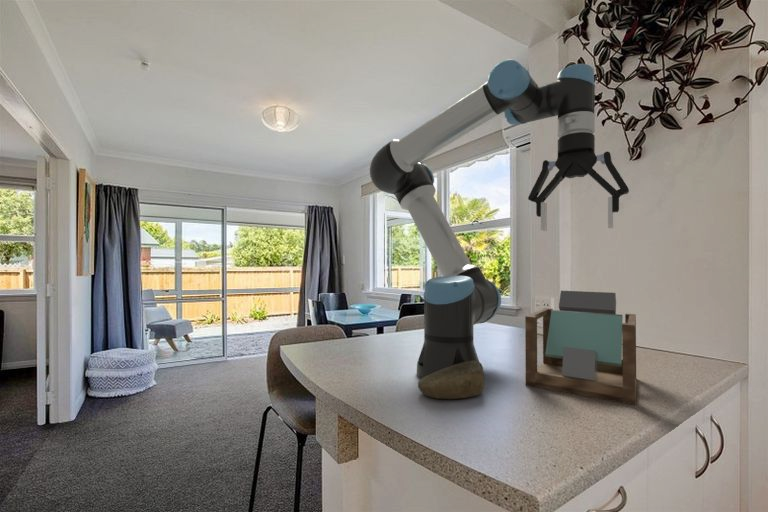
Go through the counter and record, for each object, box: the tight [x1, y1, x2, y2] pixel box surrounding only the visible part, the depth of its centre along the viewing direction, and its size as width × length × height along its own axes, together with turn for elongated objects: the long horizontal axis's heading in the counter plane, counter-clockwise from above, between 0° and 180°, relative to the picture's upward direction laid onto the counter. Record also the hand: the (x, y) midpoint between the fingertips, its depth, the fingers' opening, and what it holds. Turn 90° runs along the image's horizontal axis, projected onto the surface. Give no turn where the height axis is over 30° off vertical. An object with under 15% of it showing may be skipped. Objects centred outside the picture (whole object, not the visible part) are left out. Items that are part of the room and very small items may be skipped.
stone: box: [417, 360, 486, 400], centre depth 76 cm, size 9×14×10 cm, turn 111°
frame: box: [524, 307, 637, 406], centre depth 84 cm, size 20×20×15 cm
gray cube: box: [562, 347, 598, 381], centre depth 80 cm, size 6×6×6 cm
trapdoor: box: [545, 290, 624, 367], centre depth 89 cm, size 15×18×4 cm
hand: (575, 229), depth 85 cm, fingers open, 13 cm apart
